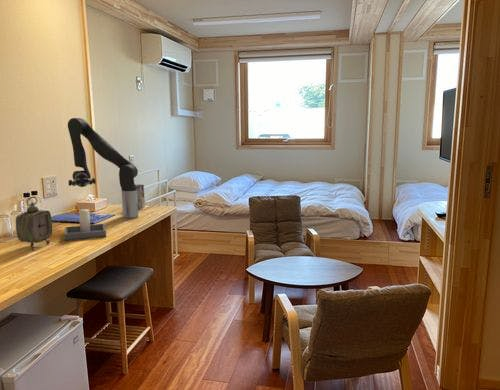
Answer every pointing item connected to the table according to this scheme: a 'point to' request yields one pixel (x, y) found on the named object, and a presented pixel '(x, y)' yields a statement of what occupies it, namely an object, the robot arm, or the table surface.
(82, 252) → the table surface
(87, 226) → the canister
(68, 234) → the tray
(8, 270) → the table surface
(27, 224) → the tabletop clock
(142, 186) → the coffee box
